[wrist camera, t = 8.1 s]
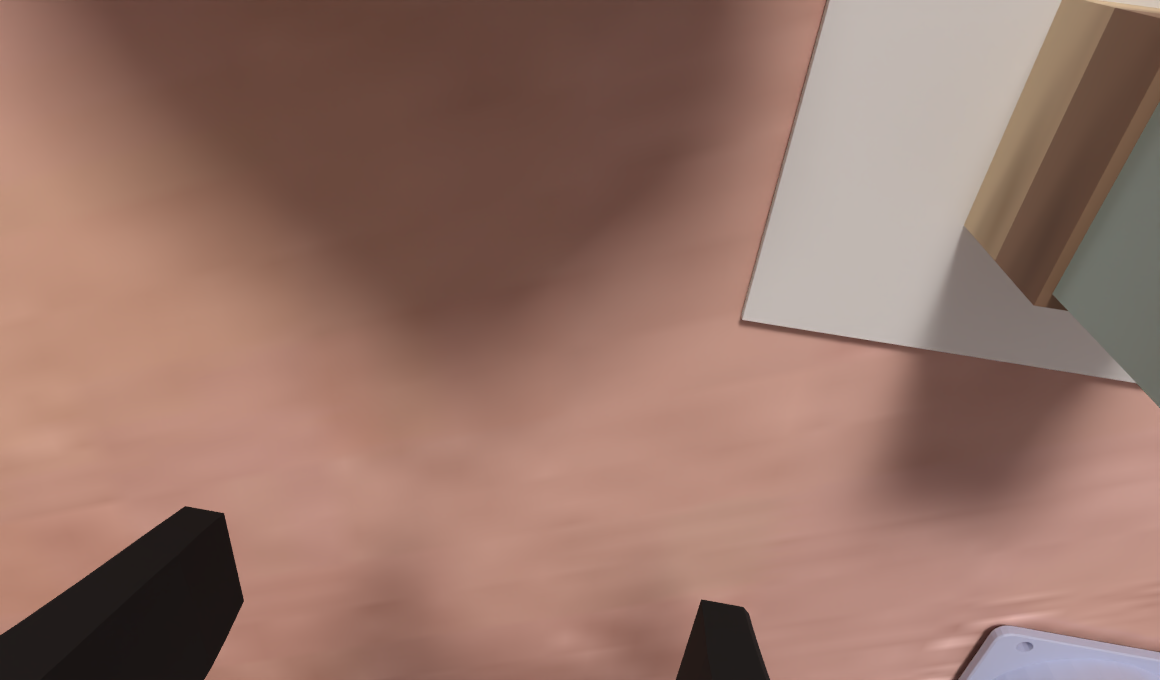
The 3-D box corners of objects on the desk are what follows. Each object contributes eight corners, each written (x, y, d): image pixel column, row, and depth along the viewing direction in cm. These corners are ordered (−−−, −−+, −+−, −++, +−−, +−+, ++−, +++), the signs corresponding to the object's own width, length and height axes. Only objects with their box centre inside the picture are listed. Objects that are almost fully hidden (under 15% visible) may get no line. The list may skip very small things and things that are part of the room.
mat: (1719, -156, 12) (1740, -157, 12) (1272, 399, 18) (1280, 406, 18) (895, -254, 13) (900, -257, 12) (741, 314, 19) (742, 319, 19)
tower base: (1321, 30, 14) (1409, 46, 12) (1178, 257, 17) (1234, 297, 15) (1064, -5, 14) (1115, 7, 12) (963, 225, 17) (994, 261, 15)
